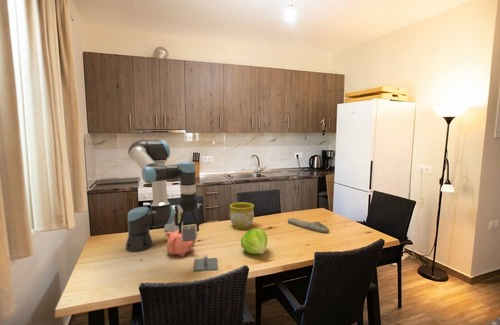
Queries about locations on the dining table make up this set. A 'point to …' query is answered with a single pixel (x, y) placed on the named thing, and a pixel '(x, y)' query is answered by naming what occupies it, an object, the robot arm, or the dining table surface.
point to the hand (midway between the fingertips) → (189, 238)
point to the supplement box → (171, 226)
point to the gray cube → (189, 233)
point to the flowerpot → (241, 215)
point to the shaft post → (205, 264)
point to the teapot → (178, 244)
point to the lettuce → (254, 241)
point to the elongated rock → (309, 225)
